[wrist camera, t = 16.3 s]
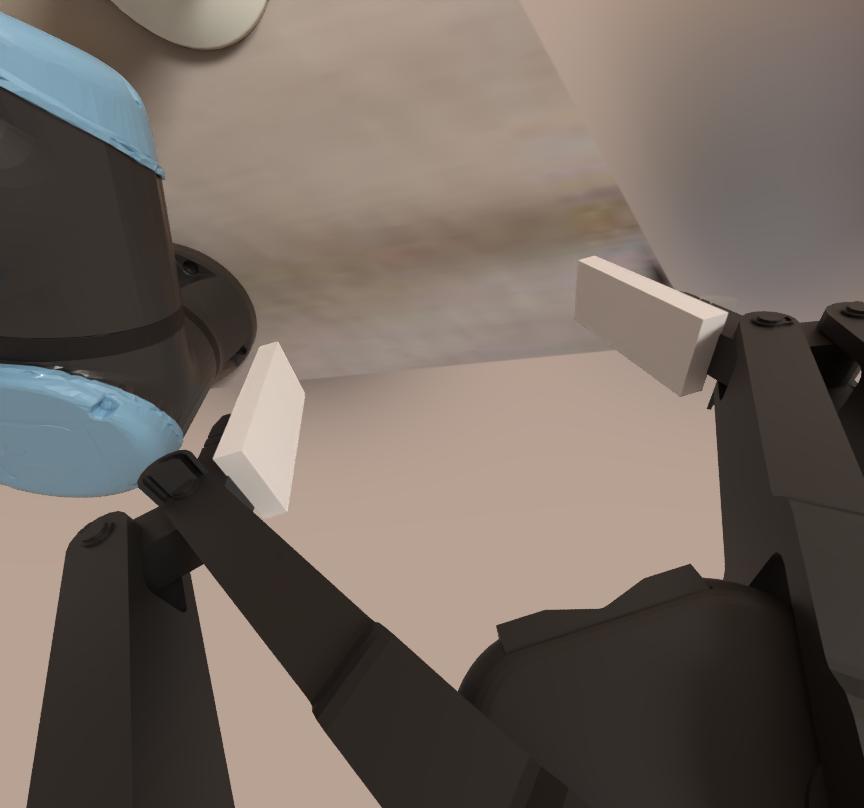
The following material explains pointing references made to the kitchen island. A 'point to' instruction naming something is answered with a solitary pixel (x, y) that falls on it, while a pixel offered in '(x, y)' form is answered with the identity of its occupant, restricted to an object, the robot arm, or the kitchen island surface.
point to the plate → (196, 20)
